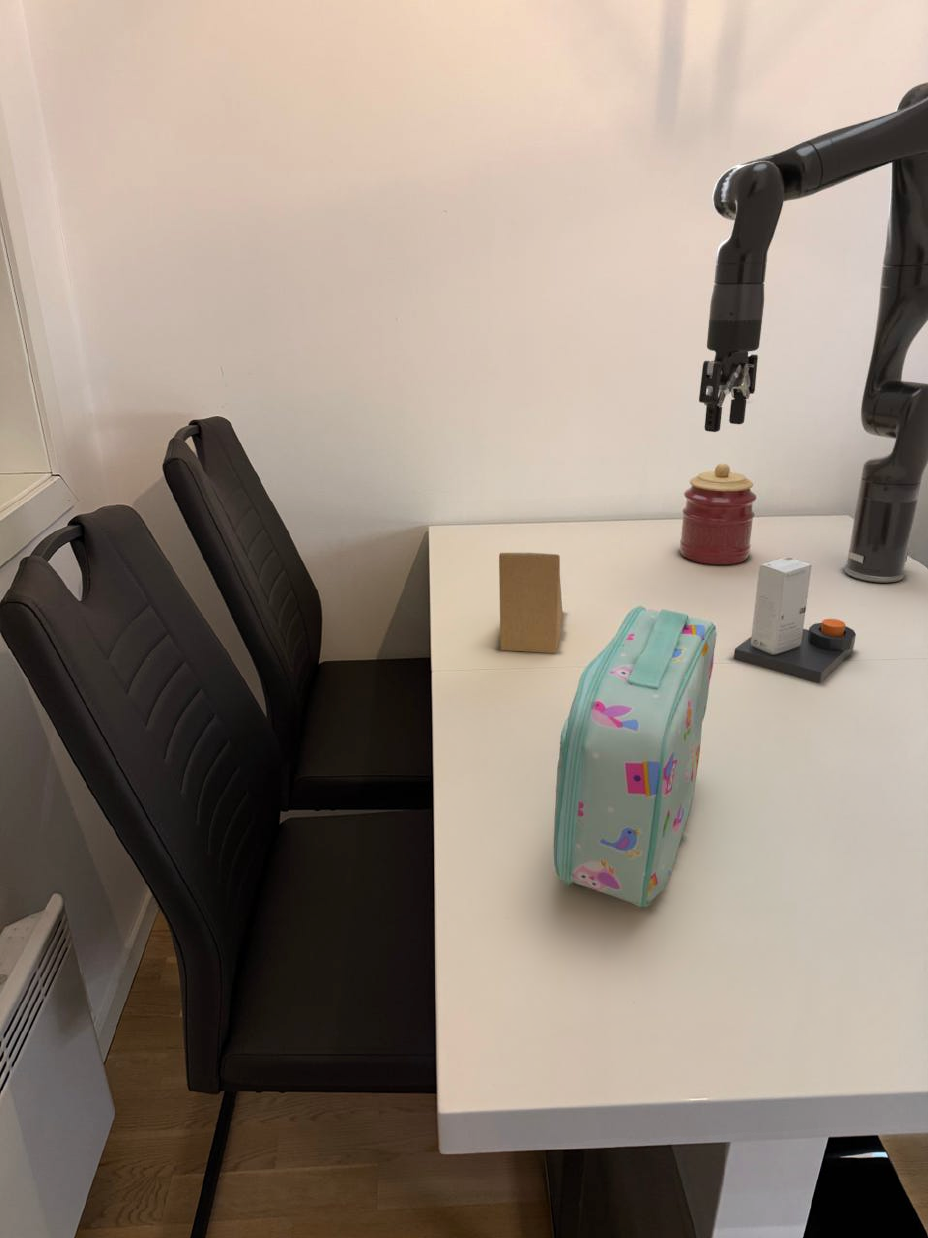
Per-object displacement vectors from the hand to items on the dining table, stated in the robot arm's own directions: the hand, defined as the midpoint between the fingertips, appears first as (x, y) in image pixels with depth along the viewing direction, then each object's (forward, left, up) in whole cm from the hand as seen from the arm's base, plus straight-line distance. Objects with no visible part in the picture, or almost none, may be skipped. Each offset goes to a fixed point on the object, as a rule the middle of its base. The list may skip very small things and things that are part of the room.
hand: (724, 427), depth 130 cm
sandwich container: (+30, -14, -28) cm, 44 cm away
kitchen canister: (-21, -9, -28) cm, 36 cm away
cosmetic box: (+16, +18, -27) cm, 36 cm away
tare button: (+10, +24, -25) cm, 36 cm away
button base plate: (+14, +20, -28) cm, 37 cm away
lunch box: (+64, +23, -28) cm, 73 cm away
